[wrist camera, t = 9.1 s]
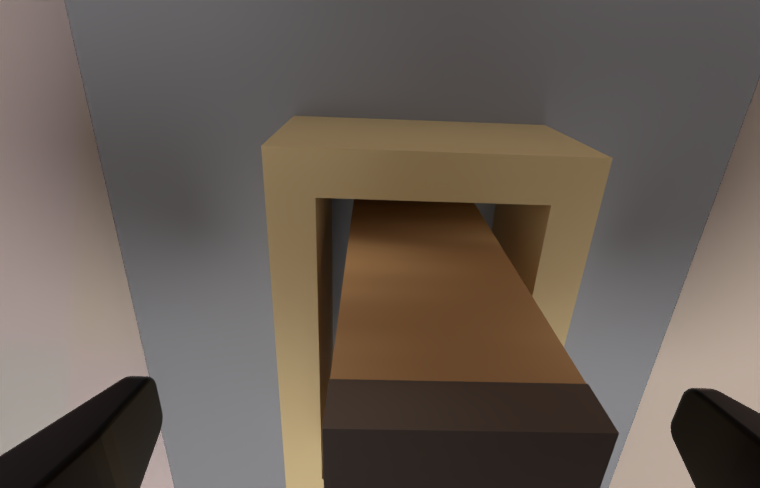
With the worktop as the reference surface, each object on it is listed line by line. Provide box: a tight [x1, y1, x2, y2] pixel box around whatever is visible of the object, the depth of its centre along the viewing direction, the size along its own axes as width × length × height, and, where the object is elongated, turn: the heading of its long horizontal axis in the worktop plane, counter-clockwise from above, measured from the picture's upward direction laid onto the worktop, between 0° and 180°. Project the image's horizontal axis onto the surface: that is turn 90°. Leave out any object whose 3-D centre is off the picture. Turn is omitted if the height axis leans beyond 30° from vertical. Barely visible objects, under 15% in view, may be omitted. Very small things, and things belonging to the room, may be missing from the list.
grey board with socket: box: [64, 0, 760, 488], centre depth 10 cm, size 14×16×4 cm
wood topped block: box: [322, 199, 619, 488], centre depth 8 cm, size 2×5×7 cm, turn 178°
